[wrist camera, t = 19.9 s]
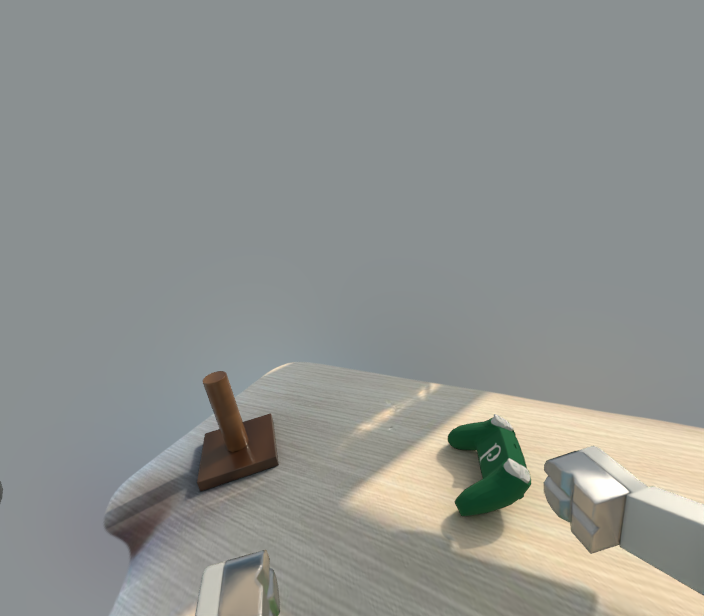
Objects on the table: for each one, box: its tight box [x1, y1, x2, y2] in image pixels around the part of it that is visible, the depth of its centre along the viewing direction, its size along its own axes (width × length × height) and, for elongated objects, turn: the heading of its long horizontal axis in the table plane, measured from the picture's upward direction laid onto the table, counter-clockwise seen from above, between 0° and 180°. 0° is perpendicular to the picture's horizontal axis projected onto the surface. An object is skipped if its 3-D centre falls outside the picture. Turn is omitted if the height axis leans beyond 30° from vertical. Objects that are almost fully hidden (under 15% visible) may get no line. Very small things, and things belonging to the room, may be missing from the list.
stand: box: [197, 371, 279, 491], centre depth 39 cm, size 8×8×10 cm
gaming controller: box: [448, 414, 531, 516], centre depth 32 cm, size 9×4×6 cm
